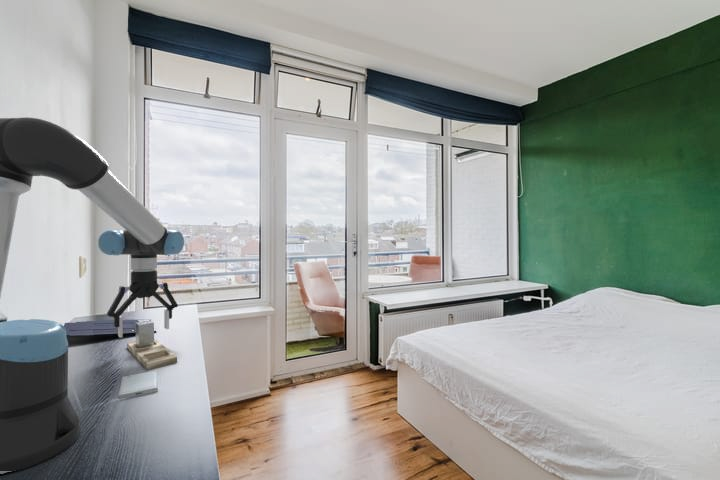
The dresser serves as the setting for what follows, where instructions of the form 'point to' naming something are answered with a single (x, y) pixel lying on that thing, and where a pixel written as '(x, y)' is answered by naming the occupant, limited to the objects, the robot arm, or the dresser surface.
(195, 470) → the dresser surface
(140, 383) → the hard drive
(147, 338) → the post
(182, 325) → the dresser surface
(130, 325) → the dark grey flat slab
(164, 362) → the rail
